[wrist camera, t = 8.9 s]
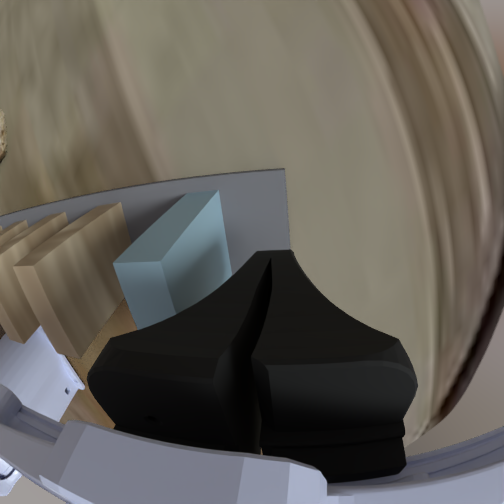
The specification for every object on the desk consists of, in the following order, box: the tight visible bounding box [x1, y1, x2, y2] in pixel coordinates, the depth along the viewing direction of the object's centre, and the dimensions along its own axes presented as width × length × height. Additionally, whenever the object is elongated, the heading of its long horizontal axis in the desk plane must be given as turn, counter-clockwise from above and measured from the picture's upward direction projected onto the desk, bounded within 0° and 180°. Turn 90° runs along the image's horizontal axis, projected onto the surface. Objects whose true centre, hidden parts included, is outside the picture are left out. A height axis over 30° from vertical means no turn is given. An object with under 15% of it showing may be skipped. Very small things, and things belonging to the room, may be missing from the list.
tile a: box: [13, 202, 132, 359], centre depth 13 cm, size 2×5×7 cm, turn 6°
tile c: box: [0, 220, 29, 247], centre depth 14 cm, size 2×5×7 cm, turn 7°
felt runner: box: [0, 168, 290, 299], centre depth 17 cm, size 7×26×1 cm, turn 96°
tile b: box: [0, 212, 69, 344], centre depth 13 cm, size 2×5×7 cm, turn 6°
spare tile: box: [113, 190, 232, 330], centre depth 12 cm, size 2×5×7 cm, turn 6°
